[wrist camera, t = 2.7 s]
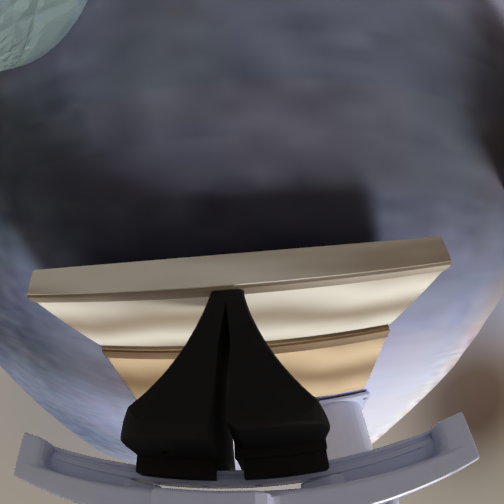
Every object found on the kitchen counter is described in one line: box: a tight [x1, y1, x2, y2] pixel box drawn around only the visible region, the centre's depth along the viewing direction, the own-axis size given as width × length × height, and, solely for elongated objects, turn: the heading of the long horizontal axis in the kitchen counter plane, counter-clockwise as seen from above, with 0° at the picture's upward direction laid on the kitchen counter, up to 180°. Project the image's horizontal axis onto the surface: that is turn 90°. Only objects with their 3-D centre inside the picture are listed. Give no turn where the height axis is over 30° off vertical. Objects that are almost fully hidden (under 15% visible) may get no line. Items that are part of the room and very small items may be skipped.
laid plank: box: [102, 324, 390, 399], centre depth 23 cm, size 9×22×2 cm, turn 94°
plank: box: [27, 236, 451, 346], centre depth 16 cm, size 9×22×2 cm, turn 93°
